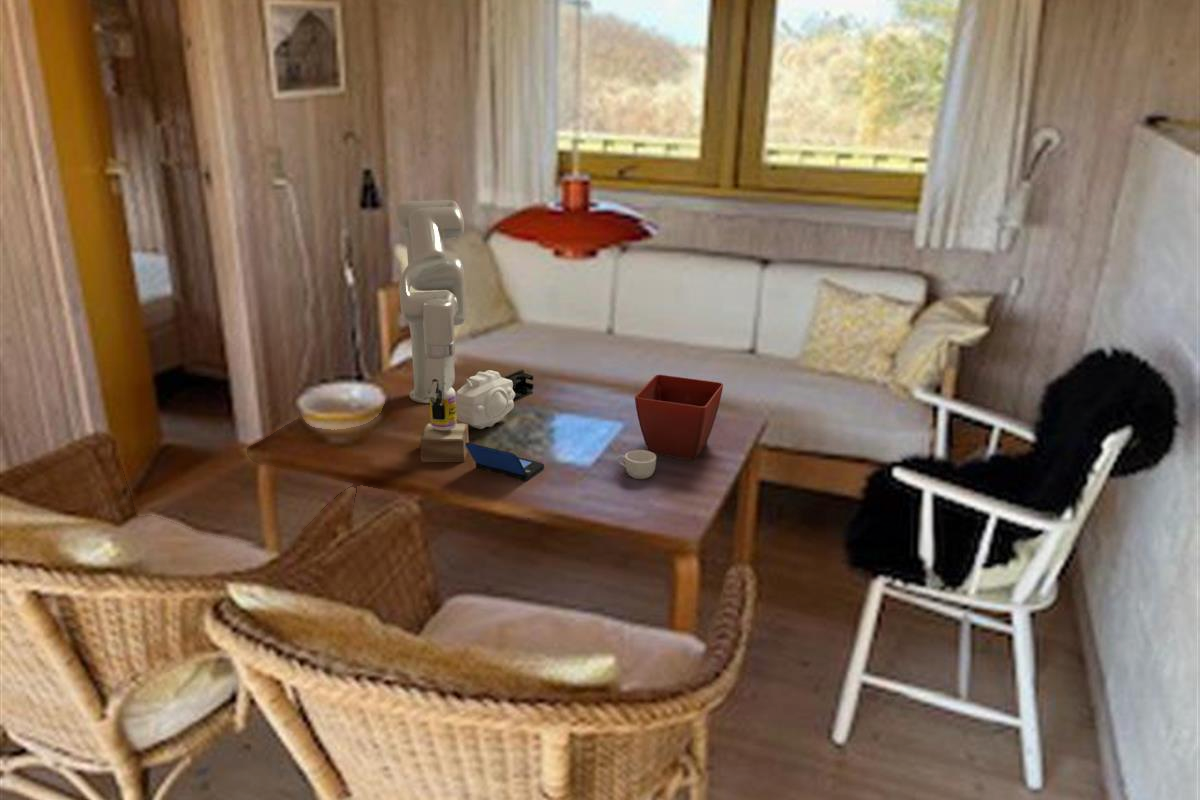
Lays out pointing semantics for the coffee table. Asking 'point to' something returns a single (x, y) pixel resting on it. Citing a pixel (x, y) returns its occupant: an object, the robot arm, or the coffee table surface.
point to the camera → (484, 399)
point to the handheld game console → (503, 462)
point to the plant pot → (677, 414)
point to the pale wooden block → (444, 444)
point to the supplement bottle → (446, 412)
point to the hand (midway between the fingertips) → (443, 413)
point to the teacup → (639, 463)
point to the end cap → (520, 384)
